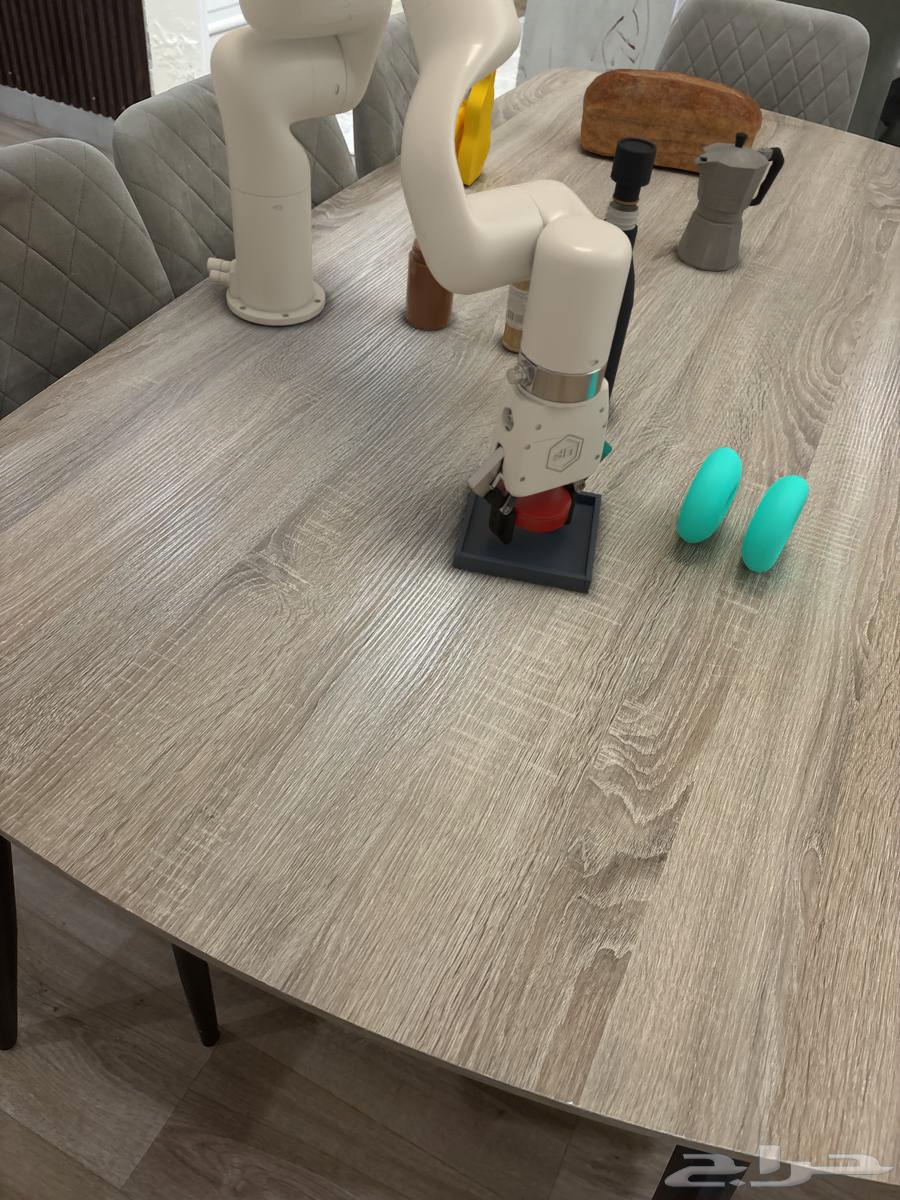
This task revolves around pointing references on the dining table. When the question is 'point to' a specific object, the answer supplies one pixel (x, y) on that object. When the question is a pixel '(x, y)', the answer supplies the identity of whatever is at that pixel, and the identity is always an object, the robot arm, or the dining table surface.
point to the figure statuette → (474, 129)
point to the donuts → (714, 500)
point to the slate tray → (532, 546)
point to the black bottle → (627, 226)
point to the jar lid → (543, 510)
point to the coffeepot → (725, 201)
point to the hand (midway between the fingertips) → (530, 524)
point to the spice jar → (515, 315)
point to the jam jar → (425, 295)
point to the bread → (665, 114)
